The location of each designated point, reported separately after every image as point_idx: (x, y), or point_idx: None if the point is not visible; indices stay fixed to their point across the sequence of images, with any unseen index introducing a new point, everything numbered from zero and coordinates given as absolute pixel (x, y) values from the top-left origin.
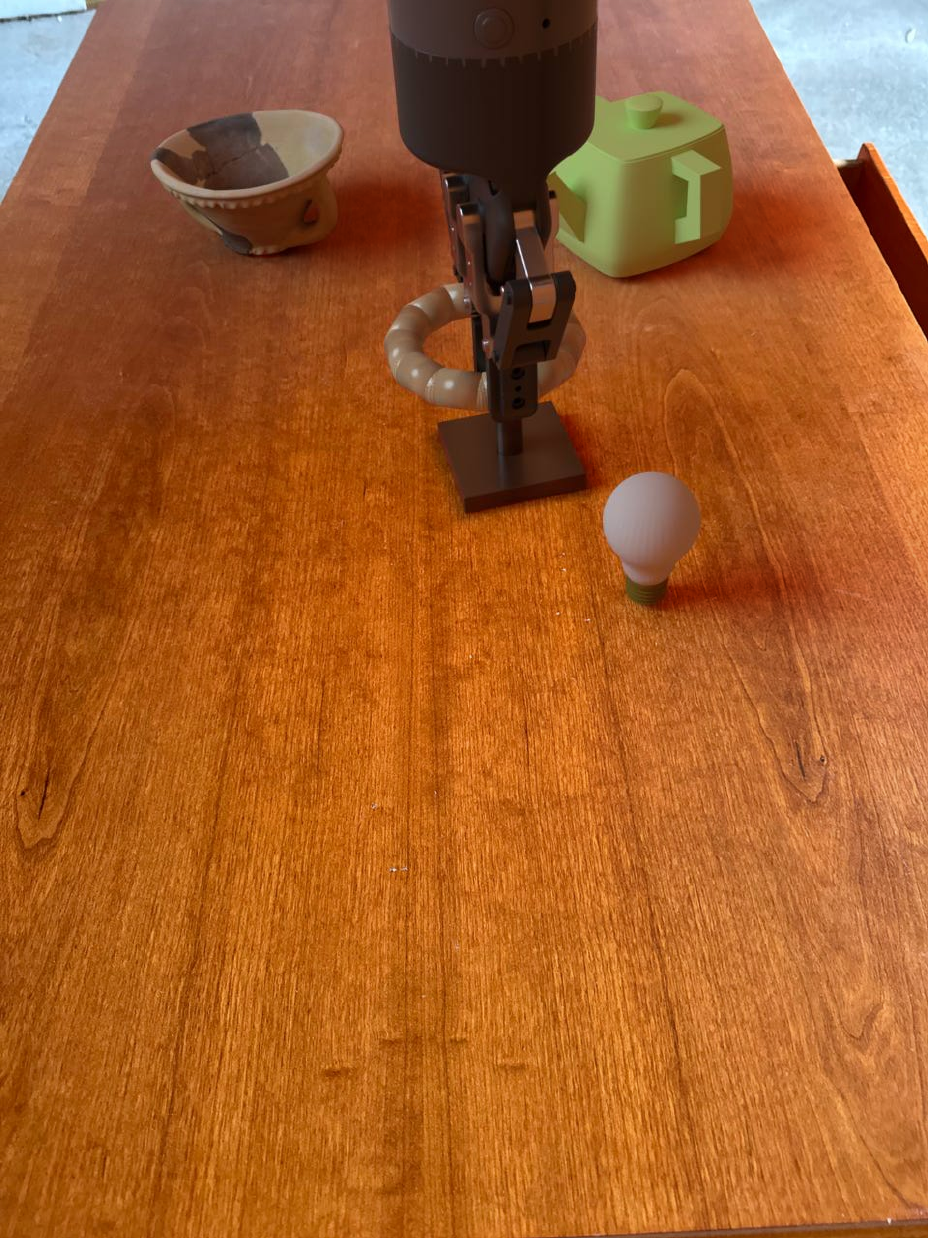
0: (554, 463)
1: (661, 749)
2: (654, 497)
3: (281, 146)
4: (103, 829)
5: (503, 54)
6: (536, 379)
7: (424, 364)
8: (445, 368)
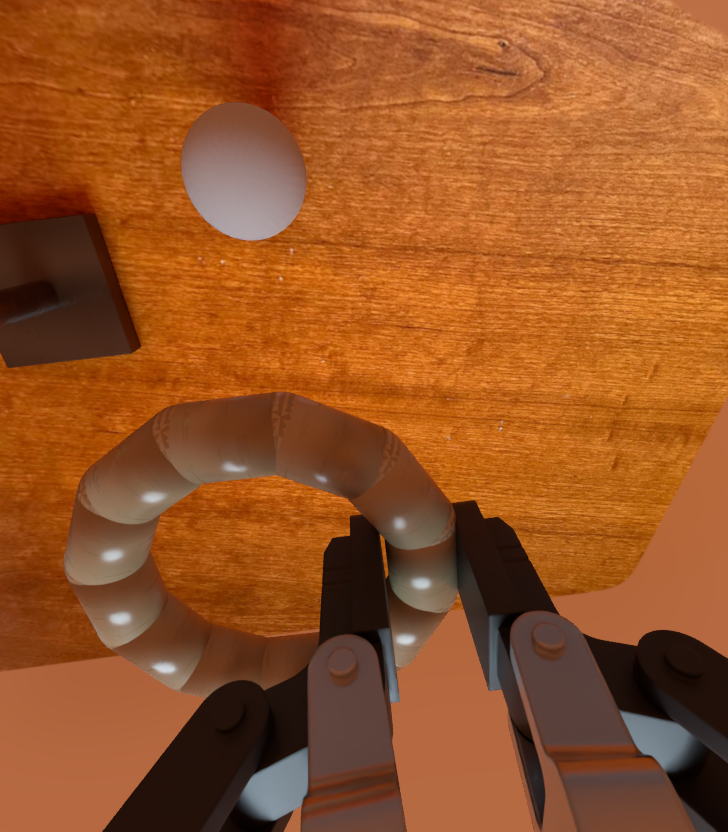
0: (68, 249)
1: (452, 213)
2: (256, 177)
3: None
4: None
5: None
6: (494, 547)
7: None
8: None
